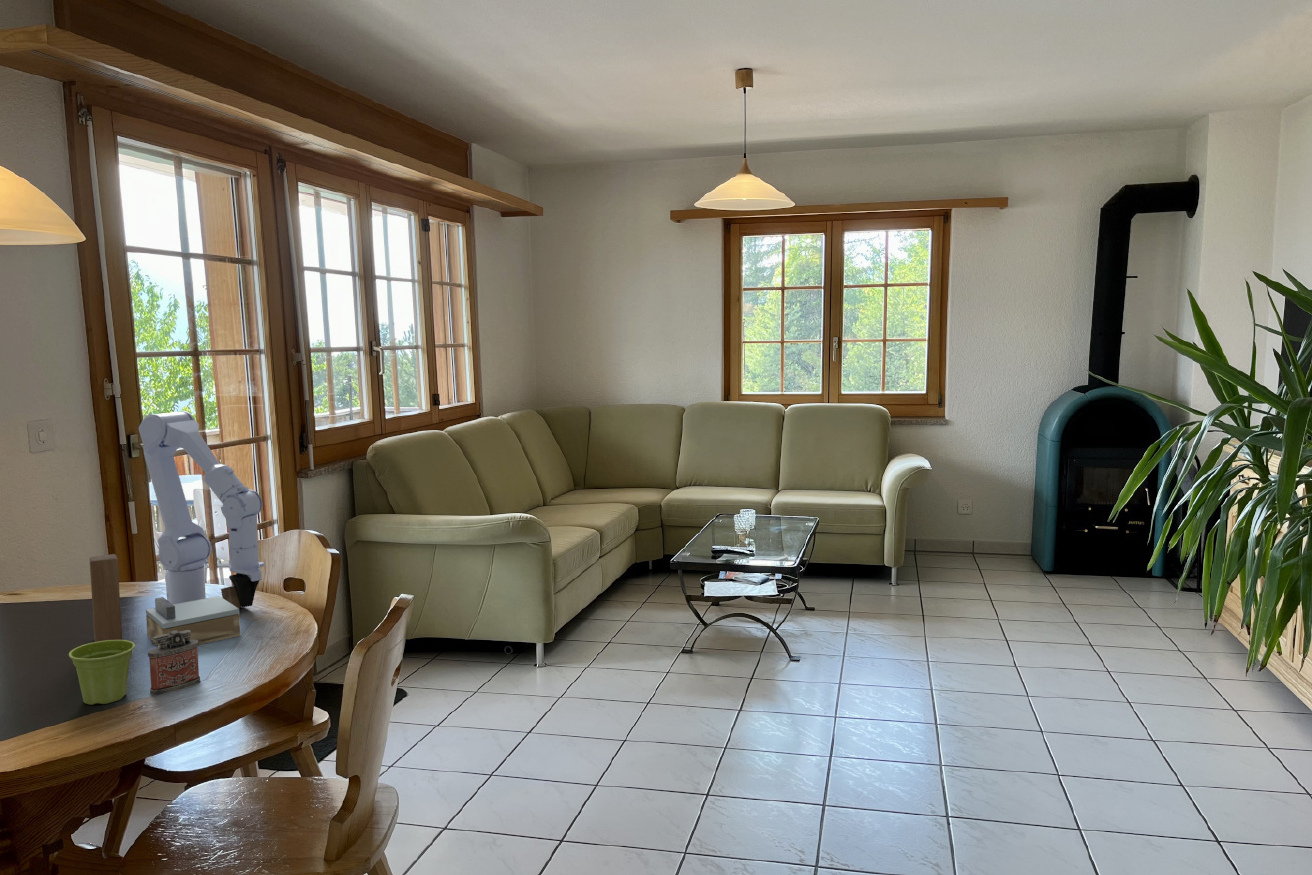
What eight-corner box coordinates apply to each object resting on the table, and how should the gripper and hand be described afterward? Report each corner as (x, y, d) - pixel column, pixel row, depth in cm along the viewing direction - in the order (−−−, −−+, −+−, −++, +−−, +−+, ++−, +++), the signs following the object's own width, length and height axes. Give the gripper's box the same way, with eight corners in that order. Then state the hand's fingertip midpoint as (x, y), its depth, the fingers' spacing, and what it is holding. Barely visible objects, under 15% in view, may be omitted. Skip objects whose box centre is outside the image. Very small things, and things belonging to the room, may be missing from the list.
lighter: (195, 678, 156) (192, 624, 155) (203, 683, 154) (201, 628, 153) (146, 691, 150) (143, 635, 149) (154, 697, 148) (151, 640, 147)
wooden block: (94, 638, 176) (88, 551, 174) (120, 634, 179) (115, 548, 177) (95, 652, 169) (89, 561, 167) (122, 647, 171) (117, 558, 169)
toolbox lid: (146, 614, 177) (145, 597, 177) (219, 600, 187) (218, 584, 186) (163, 628, 168) (162, 611, 168) (239, 613, 178) (238, 596, 178)
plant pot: (119, 683, 154) (116, 635, 153) (149, 694, 149) (146, 645, 148) (61, 701, 146) (57, 651, 145) (90, 714, 141) (87, 663, 140)
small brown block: (225, 610, 195) (220, 588, 195) (242, 606, 198) (238, 584, 198) (233, 609, 192) (229, 586, 193) (251, 604, 195) (246, 582, 196)
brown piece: (147, 636, 178) (146, 615, 177) (220, 621, 187) (219, 601, 187) (164, 652, 169) (163, 629, 169) (240, 635, 179) (239, 614, 178)
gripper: (274, 549, 190) (277, 609, 191) (250, 537, 200) (253, 595, 202) (240, 554, 185) (243, 616, 187) (218, 542, 195) (220, 601, 197)
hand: (246, 605), depth 194 cm, fingers closed
